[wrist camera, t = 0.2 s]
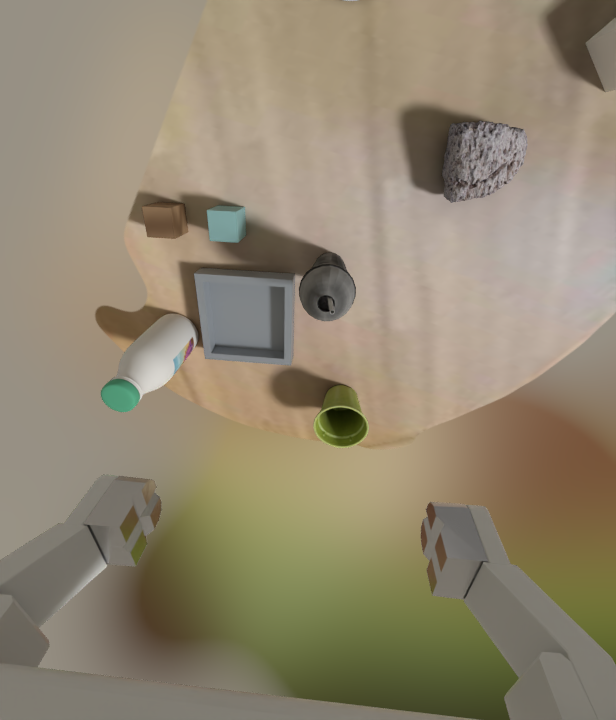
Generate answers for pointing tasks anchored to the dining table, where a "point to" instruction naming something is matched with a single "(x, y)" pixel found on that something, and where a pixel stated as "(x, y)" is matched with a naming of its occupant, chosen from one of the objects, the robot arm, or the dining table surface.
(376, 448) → the dining table surface
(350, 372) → the dining table surface
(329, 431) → the plant pot
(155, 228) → the walnut block
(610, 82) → the white cube
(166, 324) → the milk bottle
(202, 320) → the tray
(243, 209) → the teal block
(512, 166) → the pumice stone
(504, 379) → the dining table surface
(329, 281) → the beverage cup
